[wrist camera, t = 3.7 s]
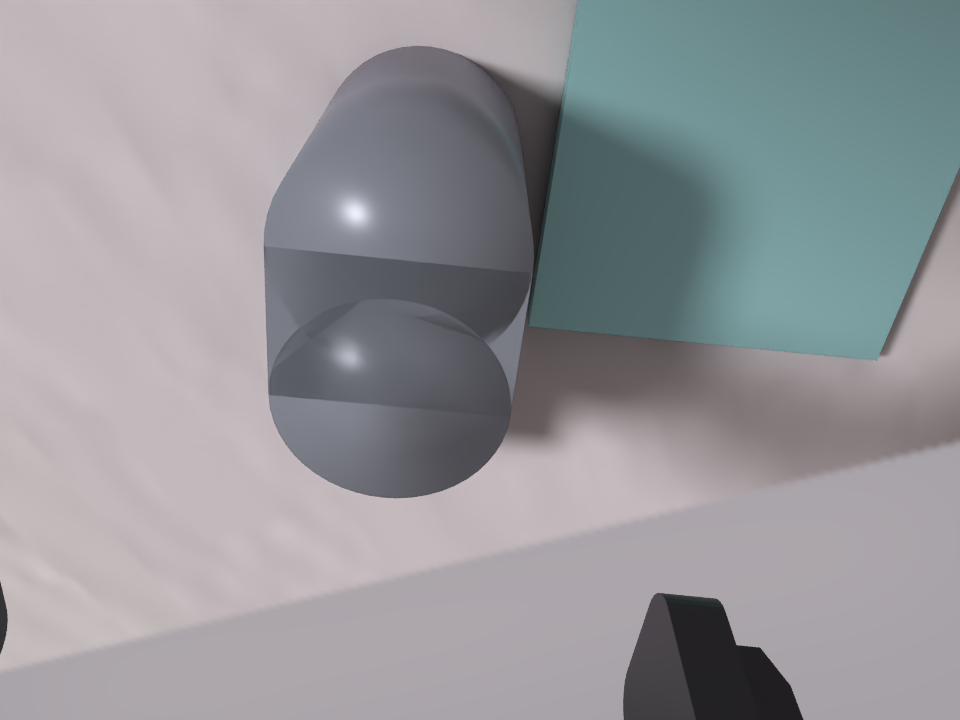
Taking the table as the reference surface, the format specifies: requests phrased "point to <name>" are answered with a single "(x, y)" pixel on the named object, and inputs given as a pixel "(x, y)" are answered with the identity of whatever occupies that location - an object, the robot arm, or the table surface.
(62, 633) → the table surface
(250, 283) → the table surface
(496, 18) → the table surface
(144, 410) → the table surface
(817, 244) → the mat
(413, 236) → the grey lobed figure
